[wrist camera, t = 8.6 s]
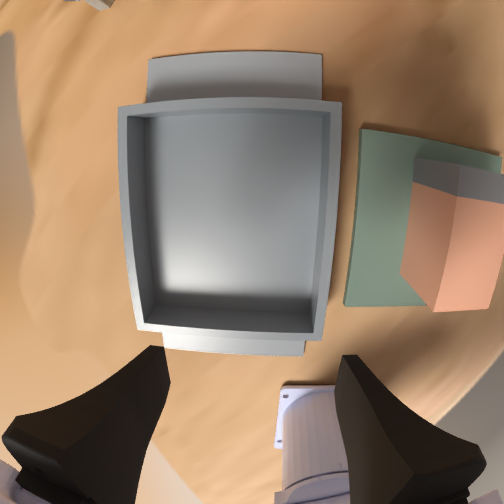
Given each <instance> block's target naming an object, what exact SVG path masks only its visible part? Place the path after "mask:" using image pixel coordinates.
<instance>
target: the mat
mask: <svg viewBox="0 0 504 504" xmlns="http://www.w3.org/2000/svg"><path fill="white" fill-rule="evenodd" d="M414 158H421V159H428V160H435V161H442V162H448V163H454V164H460V165H464V166H469V167H474V168H478V169H482V170H487V171H491V172H495V173H499V174H501V163H502V157H499V156H496V155H493V154H489V153H485V152H482V151H478V150H474V149H470V148H466V147H462V146H458V145H453V144H449V143H445V142H440V141H435V140H430V139H425V138H420V137H414V136H409V135H403V134H397V133H390V132H383V131H376V130H369V129H359V153H358V172H357V187H356V200H355V211H354V222H353V231H352V241H351V249H350V257H349V265H348V272H347V280H346V286H345V293H344V299H343V304H344V306H345V307H377V306H423V305H427V304H426V303H425V302H424V301H423V300H422V299H421V297H420V296H419V295H418V294H417V293H416V292H415V290H414V289H413V288H412V287H411V286H410V285H409V284H408V282H407V281H406V280H405V279H404V278H403V277H402V276H401V275H400V268H401V262H402V257H403V251H404V245H405V239H406V232H407V225H408V218H409V210H410V201H411V191H412V181H413V168H414Z"/></svg>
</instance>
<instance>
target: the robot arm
mask: <svg viewBox="0 0 504 504" xmlns="http://www.w3.org/2000/svg"><path fill="white" fill-rule="evenodd" d="M170 383H171V382H170V377H169V372H168V366H167V361H166V355H165V350H164V347H161V346H153V345H150V346H149V347H147V348H146V349H145V350H144V351H143V352H141V353H140V354H139V355H138V356H137V357H135V358H134V359H133V360H132V361H130V362H129V363H128V364H127V365H125V366H124V367H123V368H122V369H120V370H119V371H118V372H116V373H115V374H114V375H112V376H111V377H109V378H108V379H107V380H105V381H104V382H103V383H101V384H99V385H98V386H96V387H94V388H93V389H91V390H89V391H88V392H86V393H84V394H82V395H80V396H78V397H76V398H74V399H71V400H69V401H67V402H65V403H63V404H60V405H57V406H55V407H52V408H49V409H45V410H42V411H38V412H34V413H30V414H25V415H20V416H16V417H15V419H14V420H13V422H12V423H11V424H10V426H9V427H8V428H7V430H6V431H5V432H4V434H3V435H2V441H3V443H4V445H5V446H6V448H7V449H8V451H9V452H10V453H11V455H12V456H13V457H14V458H15V459H16V461H17V462H18V463H19V464H20V465H21V466H22V469H21V471H20V472H19V471H17V470H16V469H15V468H13V467H12V466H10V465H9V464H7V463H6V462H4V461H2V460H1V459H0V504H135V499H136V494H137V488H138V483H139V479H140V474H141V470H142V465H143V461H144V457H145V454H146V450H147V447H148V444H149V442H150V439H151V437H152V434H153V432H154V430H155V427H156V425H157V422H158V420H159V418H160V415H161V413H162V410H163V408H164V405H165V403H166V399H167V395H168V391H169V387H170ZM285 394H288V395H285ZM274 447H275V448H277V449H282V491H280V492H275V498H274V504H503V502H502V500H501V497H500V495H499V492H498V490H494V491H492V492H490V493H488V494H485V495H483V496H481V497H479V498H477V499H475V500H473V501H471V502H470V503H468V501H467V497H468V496H469V495H470V492H469V490H468V487H469V486H470V485H471V484H472V483H473V482H474V481H475V480H476V479H477V478H478V477H479V476H480V475H481V473H482V472H483V471H484V469H485V467H486V460H485V458H484V456H483V454H482V452H481V450H480V448H479V446H478V445H477V444H474V443H471V442H469V441H466V440H463V439H461V438H457V437H456V436H453V435H451V434H449V433H447V432H445V431H443V430H441V429H440V428H438V427H436V426H434V425H433V424H431V423H429V422H428V421H426V420H425V419H423V418H422V417H420V416H419V415H417V414H416V413H415V412H413V411H412V410H411V409H409V408H408V407H407V406H406V405H404V404H403V403H402V402H401V401H400V400H399V399H398V398H397V397H396V396H394V395H393V394H392V393H391V392H390V391H389V390H388V389H387V388H386V387H385V386H384V385H383V384H382V383H381V381H380V380H379V379H378V378H377V377H376V376H375V375H374V374H373V373H372V372H371V370H370V369H369V368H368V367H367V366H366V365H365V363H364V362H363V361H362V360H361V359H360V358H359V357H358V355H342V359H341V364H340V368H339V372H338V376H337V381H336V385H320V386H283V387H282V388H281V389H280V398H279V407H278V416H277V424H276V433H275V441H274Z"/></svg>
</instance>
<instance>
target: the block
mask: <svg viewBox="0 0 504 504" xmlns="http://www.w3.org/2000/svg"><path fill="white" fill-rule="evenodd" d="M503 255H504V175H503V174H499V173H495V172H491V171H487V170H482V169H478V168H474V167H469V166H464V165H460V164H454V163H448V162H442V161H435V160H428V159H421V158H414V168H413V181H412V191H411V201H410V210H409V218H408V225H407V232H406V239H405V245H404V251H403V257H402V262H401V268H400V275H401V276H402V277H403V278H404V279H405V280H406V281H407V282H408V284H409V285H410V286H411V287H412V288H413V289H414V290H415V292H416V293H417V294H418V295H419V296H420V297H421V299H422V300H423V301H424V302H425V303H426V304H427V306H428V307H429V308H430V309H431V310H432V312H448V311H464V310H478V309H488V308H489V305H490V302H491V299H492V295H493V292H494V289H495V286H496V282H497V278H498V275H499V271H500V267H501V263H502V259H503Z"/></svg>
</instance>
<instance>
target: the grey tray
mask: <svg viewBox="0 0 504 504" xmlns="http://www.w3.org/2000/svg"><path fill="white" fill-rule="evenodd" d="M341 131H342V102H334V101H324V100H322V55H320V54H309V53H294V52H269V51H240V52H215V53H200V54H189V55H179V56H171V57H163V58H156V59H149V62H148V80H147V103H143V104H136V105H128V106H122V107H118V170H119V190H120V205H121V217H122V228H123V238H124V247H125V255H126V263H127V270H128V277H129V284H130V291H131V297H132V303H133V308H134V314H135V319H136V325H137V330H145V331H154V332H162V336H163V342H164V348H171V349H180V350H190V351H200V352H212V353H226V354H242V355H264V356H303V353H304V345H305V341H322V335H323V328H324V322H325V315H326V308H327V301H328V294H329V286H330V278H331V269H332V261H333V251H334V242H335V231H336V220H337V207H338V194H339V178H340V158H341Z"/></svg>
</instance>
